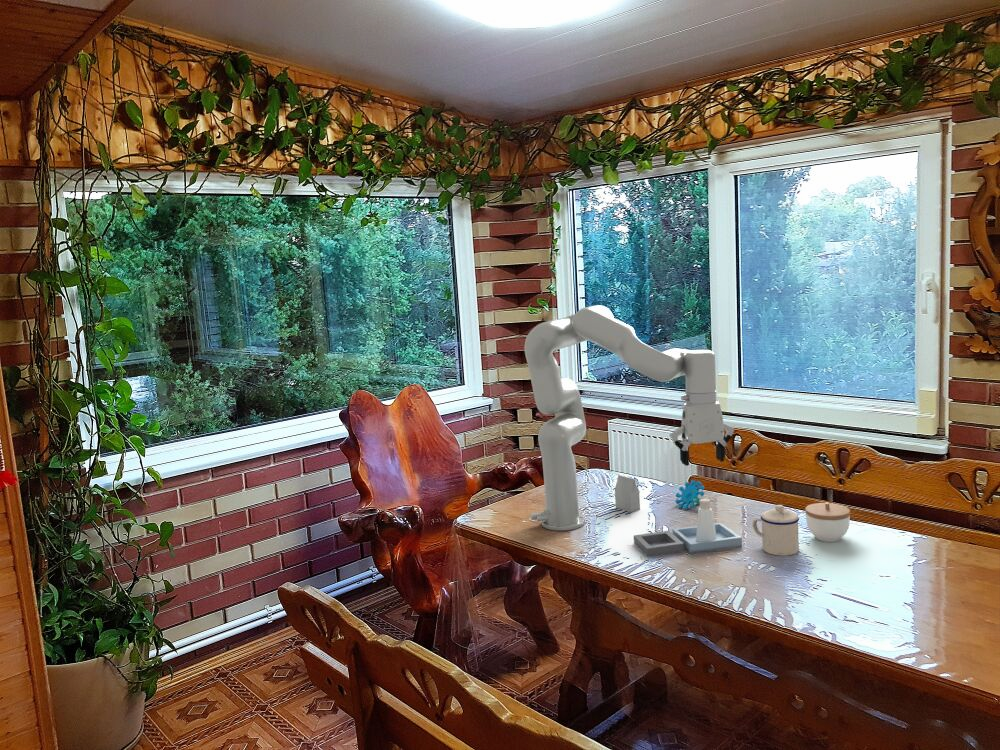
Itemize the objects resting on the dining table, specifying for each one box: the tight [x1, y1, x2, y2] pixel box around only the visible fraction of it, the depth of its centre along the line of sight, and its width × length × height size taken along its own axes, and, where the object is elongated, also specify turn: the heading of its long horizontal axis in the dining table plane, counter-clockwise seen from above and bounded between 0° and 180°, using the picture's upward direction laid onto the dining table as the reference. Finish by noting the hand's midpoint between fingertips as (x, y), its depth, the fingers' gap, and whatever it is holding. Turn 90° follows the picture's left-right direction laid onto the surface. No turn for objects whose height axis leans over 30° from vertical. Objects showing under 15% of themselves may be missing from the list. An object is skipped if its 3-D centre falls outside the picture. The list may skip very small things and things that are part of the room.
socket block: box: [633, 530, 685, 557], centre depth 200 cm, size 10×10×2 cm
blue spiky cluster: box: [674, 479, 705, 510], centre depth 230 cm, size 11×6×10 cm
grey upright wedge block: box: [614, 474, 641, 513], centre depth 232 cm, size 4×7×10 cm, turn 35°
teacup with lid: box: [752, 504, 800, 557], centre depth 193 cm, size 12×9×12 cm
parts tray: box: [671, 522, 743, 555], centre depth 201 cm, size 14×12×2 cm
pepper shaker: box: [696, 498, 717, 542], centre depth 200 cm, size 5×5×11 cm
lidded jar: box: [804, 502, 851, 543], centre depth 197 cm, size 11×11×9 cm
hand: (702, 462), depth 198 cm, fingers open, 9 cm apart
